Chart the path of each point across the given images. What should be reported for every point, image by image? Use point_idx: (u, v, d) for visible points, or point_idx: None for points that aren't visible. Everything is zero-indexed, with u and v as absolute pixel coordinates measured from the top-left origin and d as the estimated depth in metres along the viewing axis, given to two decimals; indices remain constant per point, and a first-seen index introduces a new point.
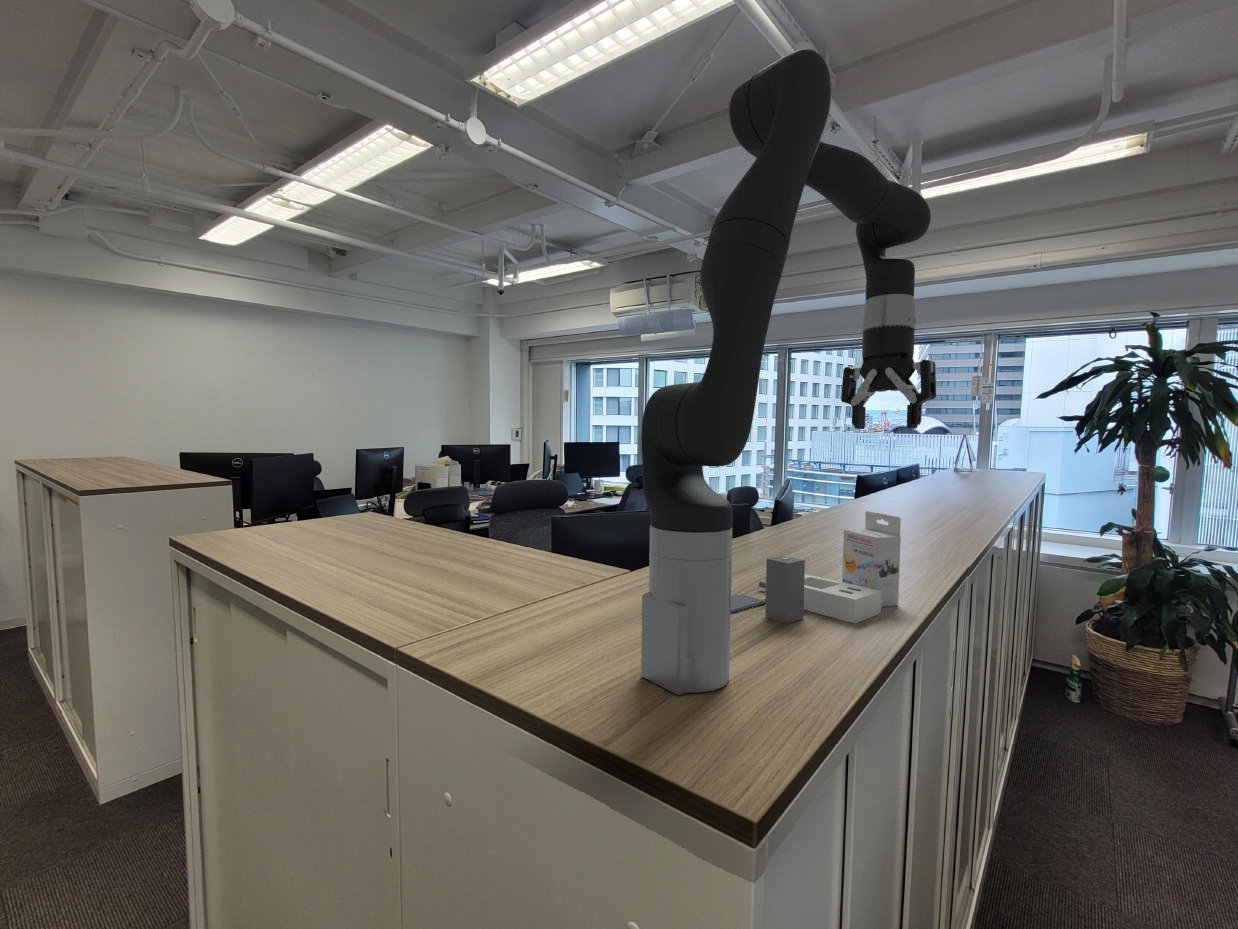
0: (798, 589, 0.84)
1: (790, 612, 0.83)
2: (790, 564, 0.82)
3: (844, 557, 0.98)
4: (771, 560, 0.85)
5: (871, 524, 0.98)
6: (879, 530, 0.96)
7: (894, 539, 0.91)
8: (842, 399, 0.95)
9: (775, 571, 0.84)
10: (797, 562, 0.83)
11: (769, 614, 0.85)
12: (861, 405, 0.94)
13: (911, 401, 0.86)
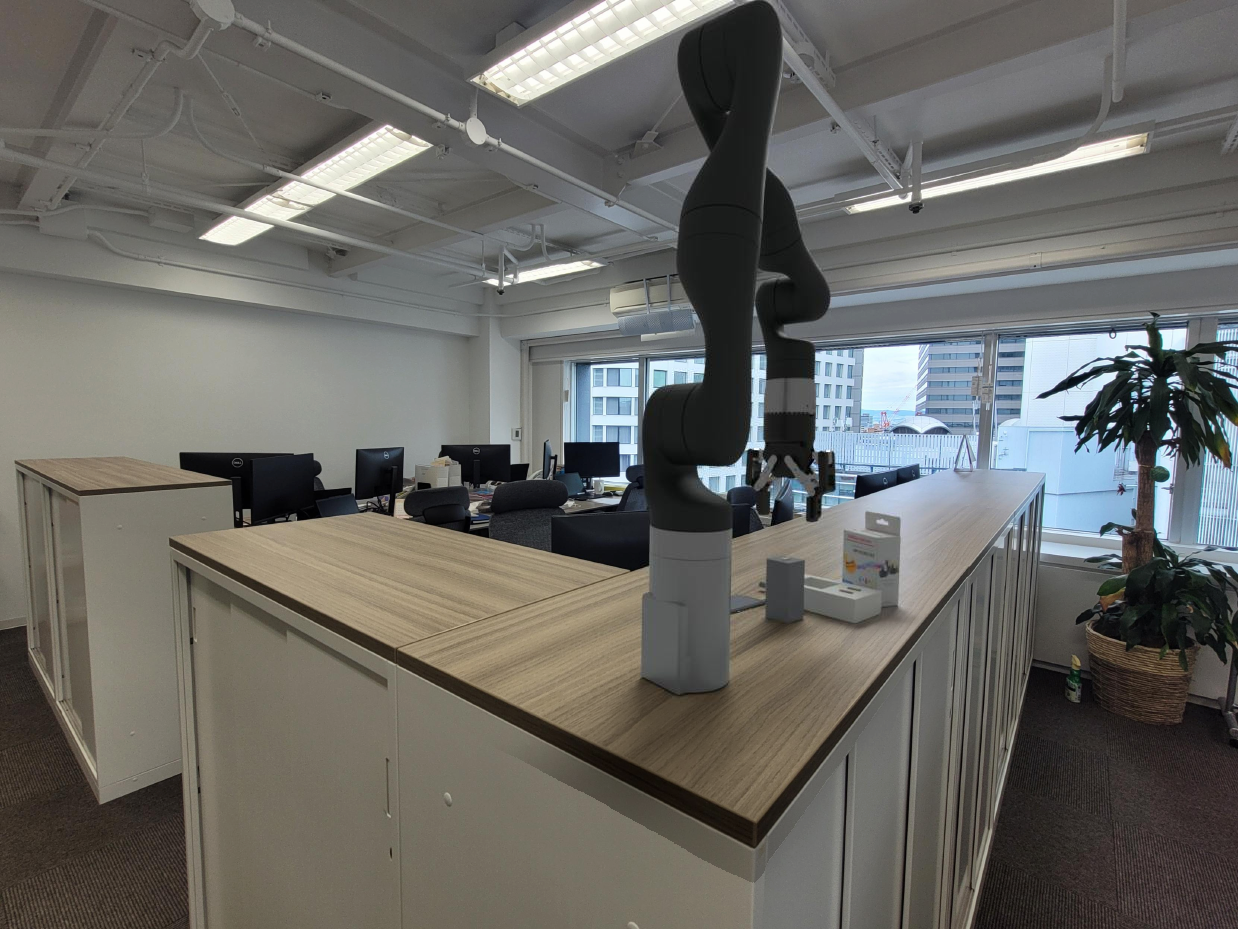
0: (798, 589, 0.84)
1: (790, 612, 0.83)
2: (790, 564, 0.82)
3: (844, 557, 0.98)
4: (771, 560, 0.85)
5: (871, 524, 0.98)
6: (879, 530, 0.96)
7: (894, 539, 0.91)
8: (746, 482, 0.89)
9: (775, 571, 0.84)
10: (797, 562, 0.83)
11: (769, 614, 0.85)
12: (765, 490, 0.88)
13: (809, 494, 0.80)
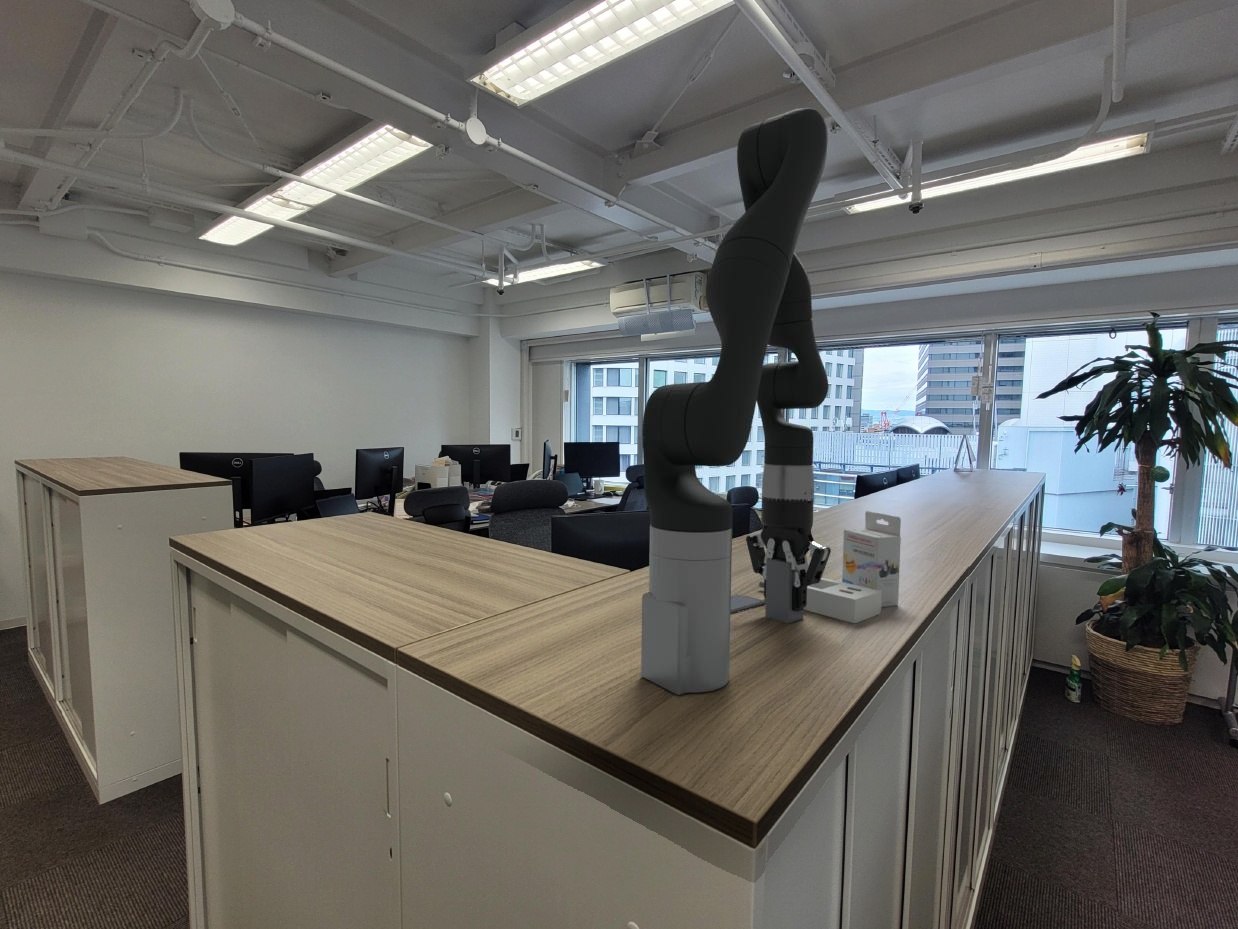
0: None
1: (790, 612, 0.83)
2: None
3: (844, 557, 0.98)
4: (771, 560, 0.85)
5: (871, 524, 0.98)
6: (879, 530, 0.96)
7: (894, 539, 0.91)
8: (754, 570, 0.88)
9: (775, 571, 0.84)
10: (797, 562, 0.83)
11: (769, 614, 0.85)
12: None
13: (795, 584, 0.82)
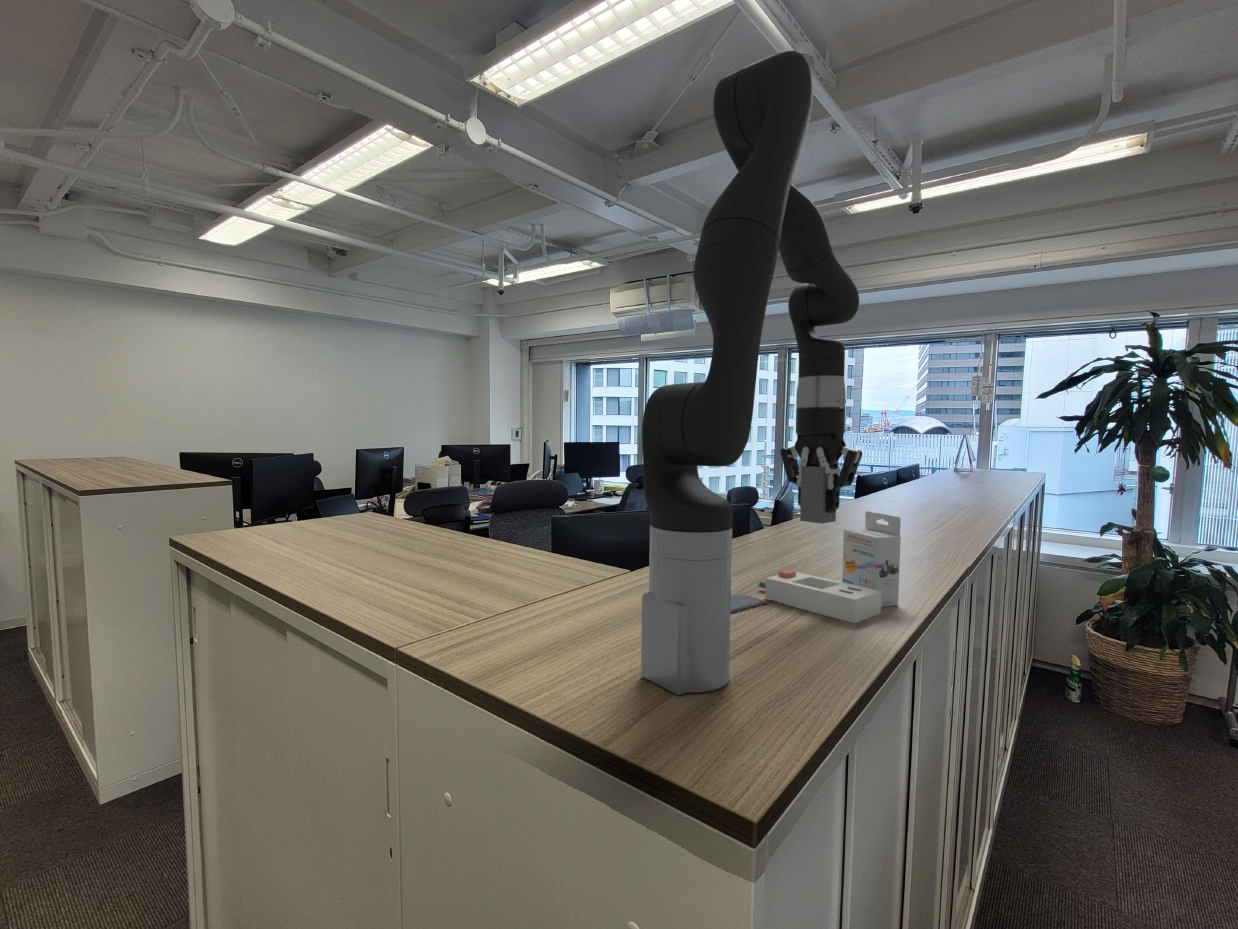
0: None
1: (824, 513, 0.89)
2: None
3: (844, 557, 0.98)
4: (805, 467, 0.91)
5: (871, 524, 0.98)
6: (879, 530, 0.96)
7: (894, 539, 0.91)
8: (789, 479, 0.94)
9: (810, 476, 0.90)
10: (830, 467, 0.90)
11: (803, 518, 0.92)
12: None
13: (828, 487, 0.89)
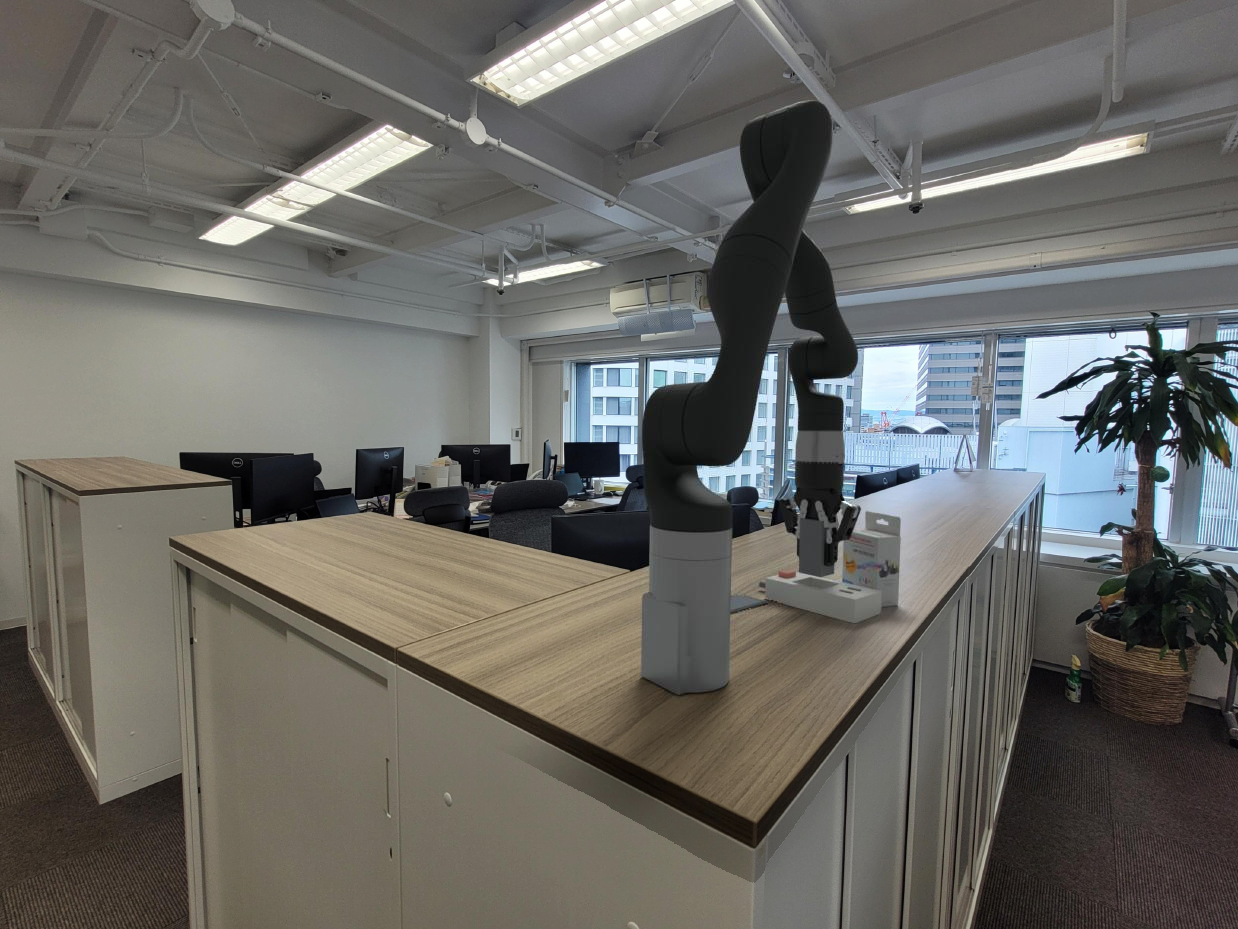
0: None
1: (823, 567, 0.90)
2: None
3: (844, 557, 0.98)
4: (804, 519, 0.91)
5: (871, 524, 0.98)
6: (879, 530, 0.96)
7: (894, 539, 0.91)
8: (788, 530, 0.95)
9: (808, 529, 0.91)
10: (829, 521, 0.90)
11: (802, 570, 0.92)
12: None
13: (827, 541, 0.89)
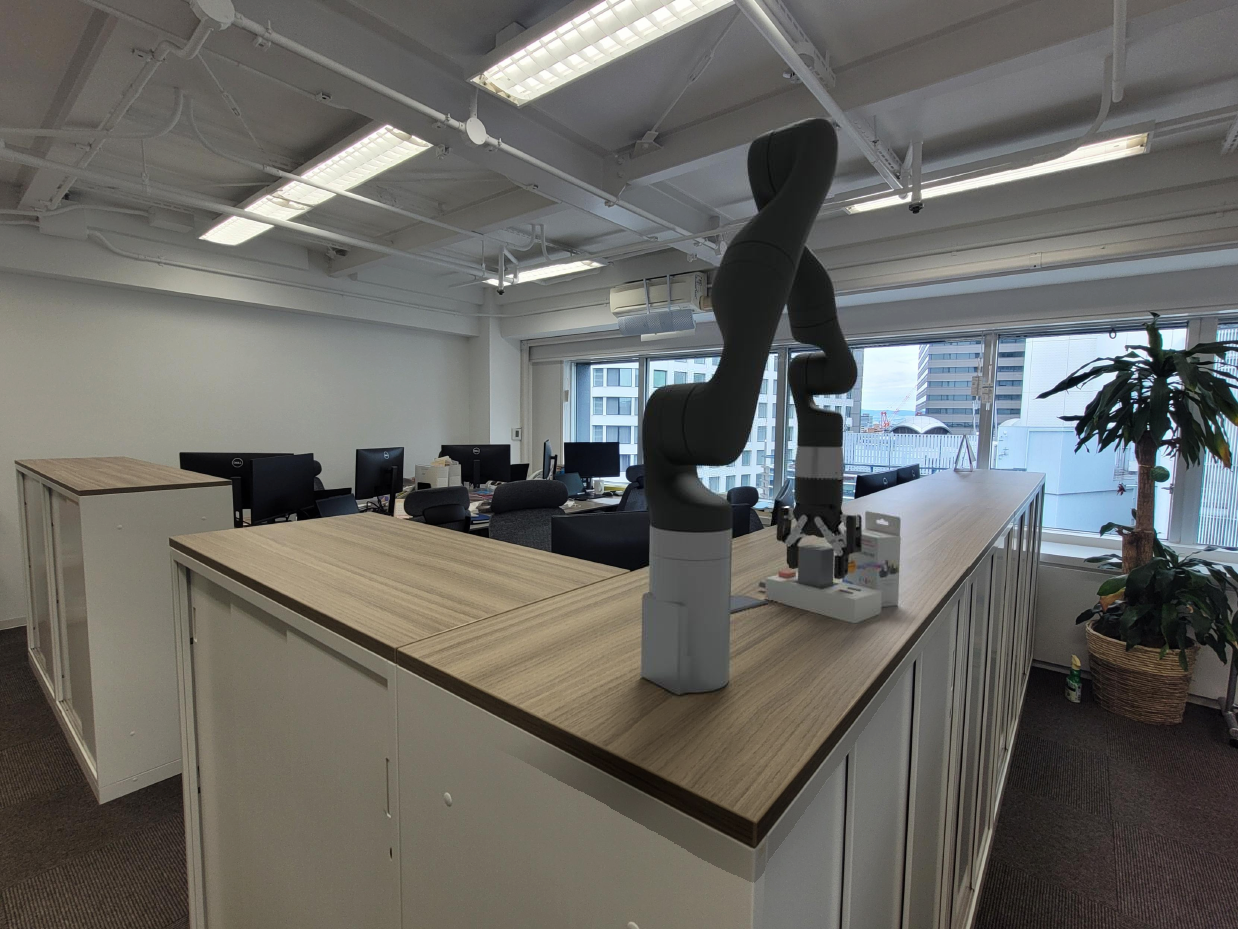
0: (828, 574, 0.91)
1: None
2: (821, 551, 0.89)
3: None
4: (803, 548, 0.92)
5: (871, 524, 0.98)
6: (879, 530, 0.96)
7: (894, 539, 0.91)
8: (777, 537, 0.96)
9: (807, 558, 0.91)
10: (827, 550, 0.90)
11: None
12: (795, 545, 0.95)
13: (838, 553, 0.88)
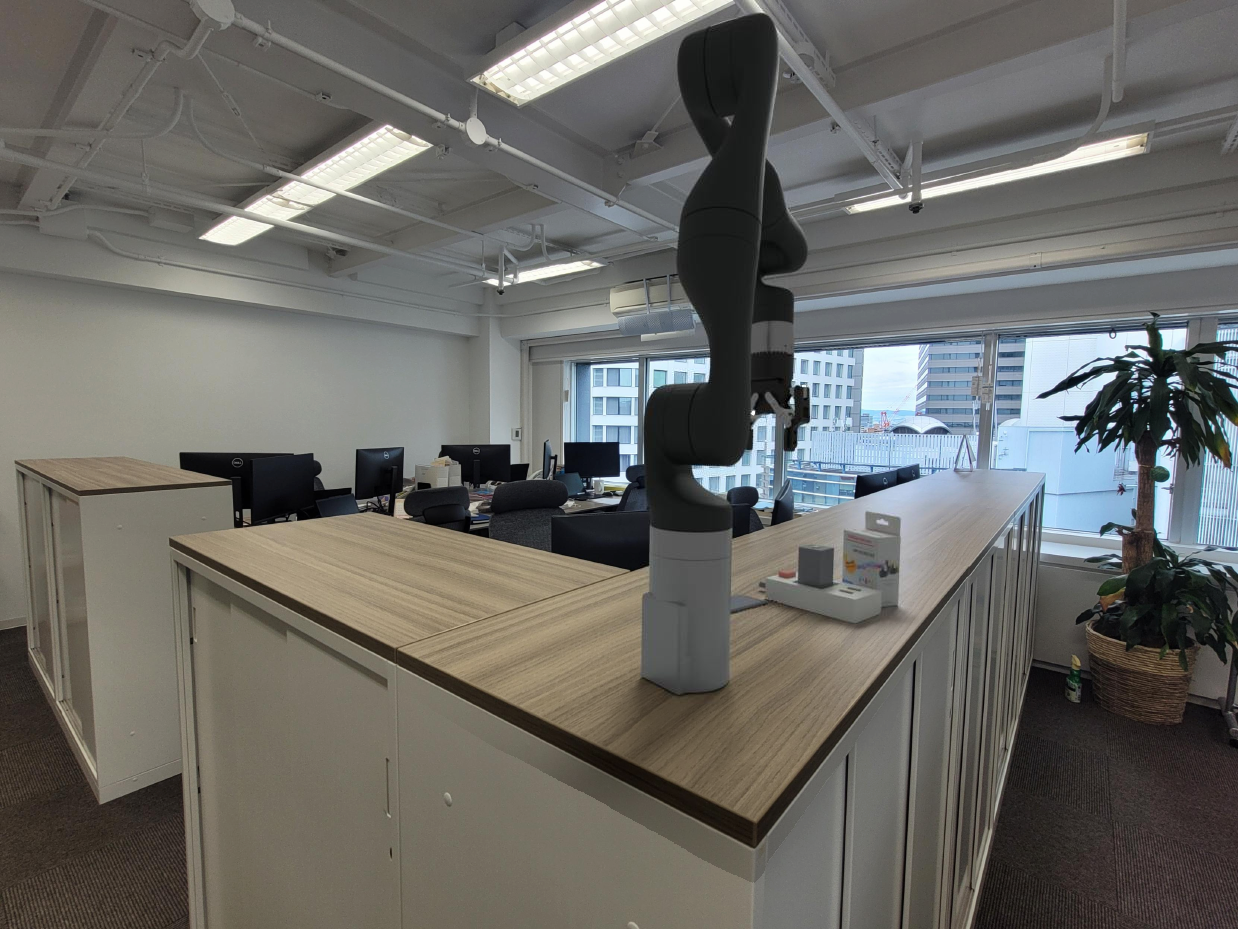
0: (828, 574, 0.91)
1: None
2: (821, 551, 0.89)
3: (844, 557, 0.98)
4: (803, 548, 0.92)
5: (871, 524, 0.98)
6: (879, 530, 0.96)
7: (894, 539, 0.91)
8: None
9: (807, 558, 0.91)
10: (827, 550, 0.90)
11: None
12: None
13: (786, 425, 0.88)
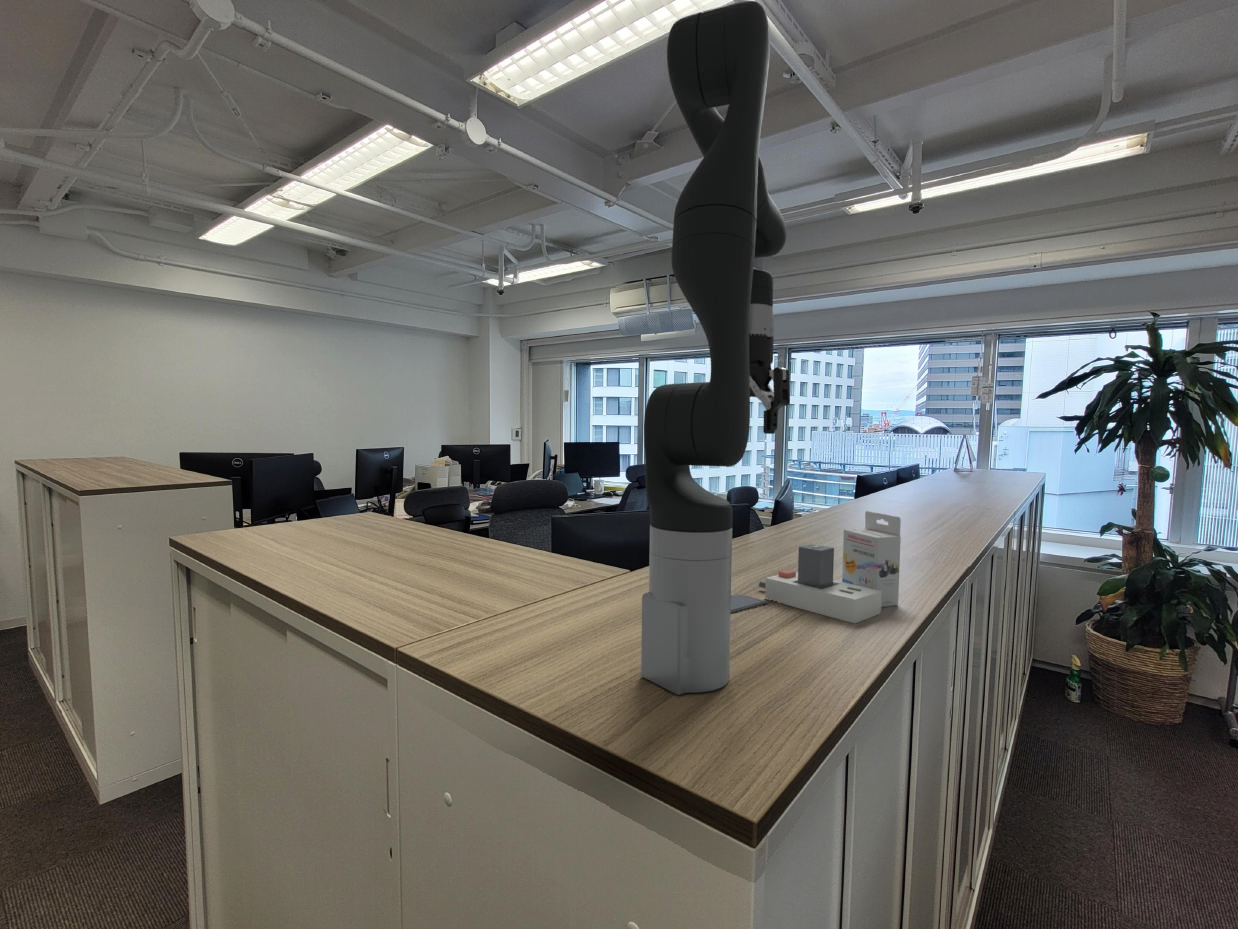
0: (828, 574, 0.91)
1: None
2: (821, 551, 0.89)
3: (844, 557, 0.98)
4: (803, 548, 0.92)
5: (871, 524, 0.98)
6: (879, 530, 0.96)
7: (894, 539, 0.91)
8: None
9: (807, 558, 0.91)
10: (827, 550, 0.90)
11: None
12: None
13: (766, 407, 0.89)
